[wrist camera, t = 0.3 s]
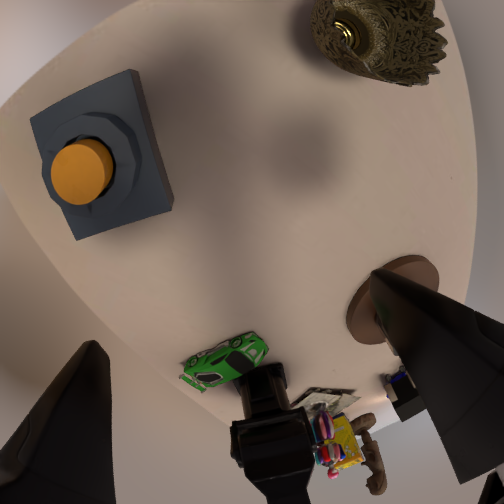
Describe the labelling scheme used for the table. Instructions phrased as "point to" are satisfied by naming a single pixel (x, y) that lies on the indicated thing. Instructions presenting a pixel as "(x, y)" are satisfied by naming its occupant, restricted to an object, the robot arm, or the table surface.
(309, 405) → the statue
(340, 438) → the supplement box
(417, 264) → the turntable
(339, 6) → the cup
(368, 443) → the figurine
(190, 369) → the toy car
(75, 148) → the button
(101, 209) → the button box
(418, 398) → the figurine character
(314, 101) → the table surface
